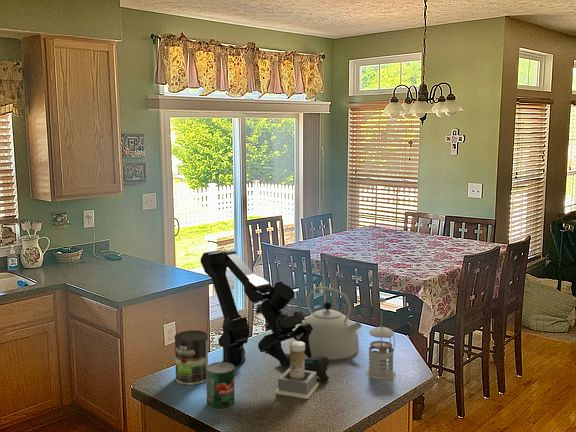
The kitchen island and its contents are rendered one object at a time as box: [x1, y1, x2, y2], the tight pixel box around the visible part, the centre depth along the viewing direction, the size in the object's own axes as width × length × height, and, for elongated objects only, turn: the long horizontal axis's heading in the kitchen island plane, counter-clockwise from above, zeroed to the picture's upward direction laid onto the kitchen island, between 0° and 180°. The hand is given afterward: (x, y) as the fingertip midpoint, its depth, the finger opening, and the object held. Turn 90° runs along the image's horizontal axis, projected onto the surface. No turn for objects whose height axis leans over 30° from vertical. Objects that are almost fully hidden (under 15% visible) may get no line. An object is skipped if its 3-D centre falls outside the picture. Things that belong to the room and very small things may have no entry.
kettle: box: [295, 286, 363, 360], centre depth 208 cm, size 25×23×22 cm
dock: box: [275, 368, 320, 400], centre depth 174 cm, size 10×10×4 cm
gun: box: [277, 352, 330, 383], centre depth 187 cm, size 4×20×10 cm, turn 43°
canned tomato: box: [206, 361, 236, 411], centre depth 164 cm, size 8×8×11 cm
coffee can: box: [174, 329, 209, 386], centre depth 182 cm, size 10×10×14 cm
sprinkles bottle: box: [289, 340, 305, 381], centre depth 174 cm, size 5×5×14 cm
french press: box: [365, 297, 397, 381], centre depth 186 cm, size 10×12×25 cm
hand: (299, 361), depth 173 cm, fingers open, 9 cm apart
